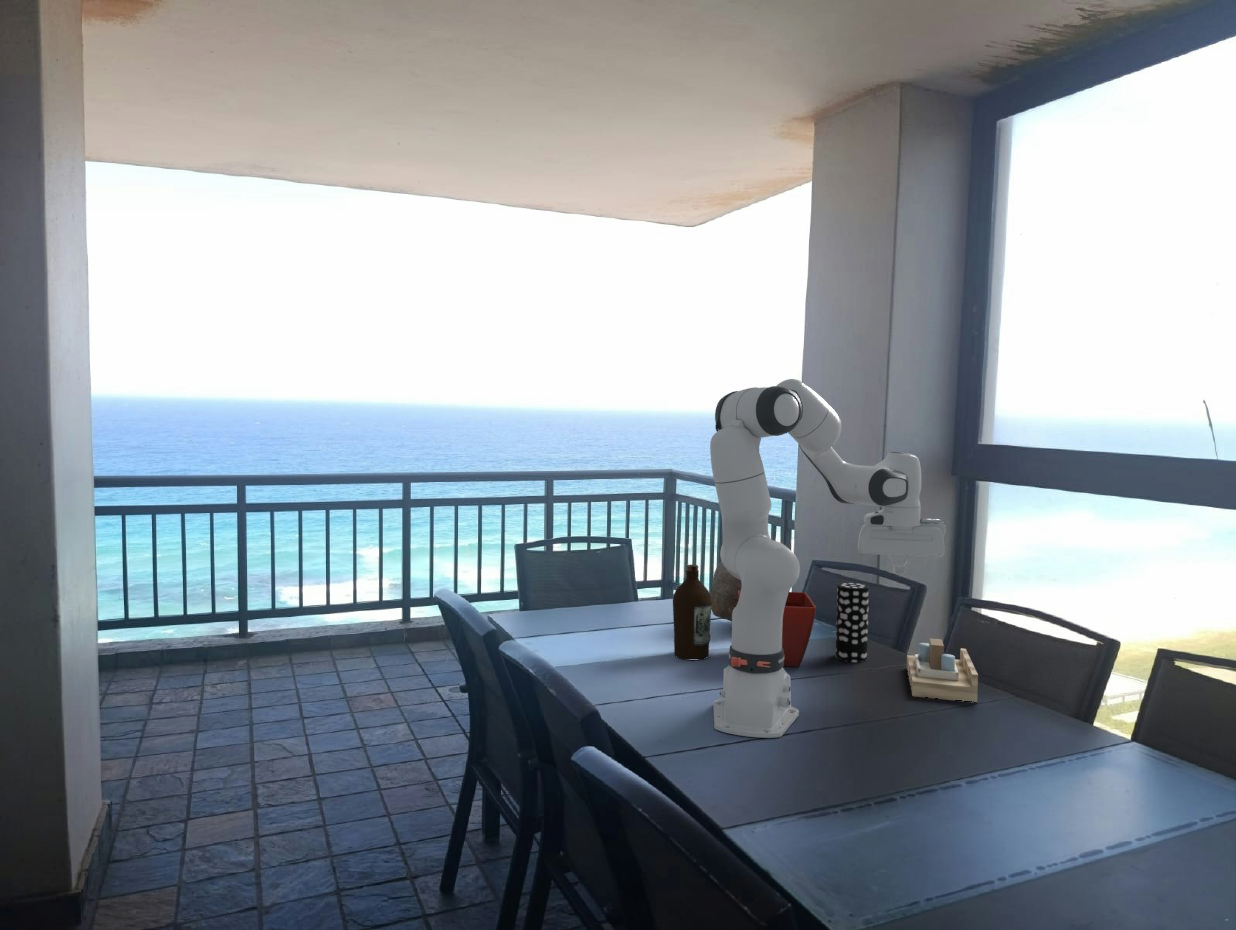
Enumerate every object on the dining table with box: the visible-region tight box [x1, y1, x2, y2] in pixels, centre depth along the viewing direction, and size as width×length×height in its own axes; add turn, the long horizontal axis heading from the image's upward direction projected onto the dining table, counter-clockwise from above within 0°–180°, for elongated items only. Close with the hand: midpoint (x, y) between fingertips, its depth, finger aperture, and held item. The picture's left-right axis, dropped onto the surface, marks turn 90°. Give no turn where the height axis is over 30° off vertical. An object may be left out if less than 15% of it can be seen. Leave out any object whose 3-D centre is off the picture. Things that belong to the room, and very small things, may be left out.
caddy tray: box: [914, 637, 959, 680], centre depth 192 cm, size 13×9×7 cm
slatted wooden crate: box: [906, 648, 979, 703], centre depth 192 cm, size 22×14×6 cm, turn 163°
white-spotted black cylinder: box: [835, 582, 870, 663], centre depth 213 cm, size 8×8×20 cm
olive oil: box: [672, 564, 712, 660], centre depth 214 cm, size 11×11×25 cm
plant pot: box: [738, 590, 817, 667], centre depth 211 cm, size 19×19×17 cm
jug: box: [710, 561, 742, 623], centre depth 242 cm, size 24×21×30 cm
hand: (899, 573), depth 193 cm, fingers closed
